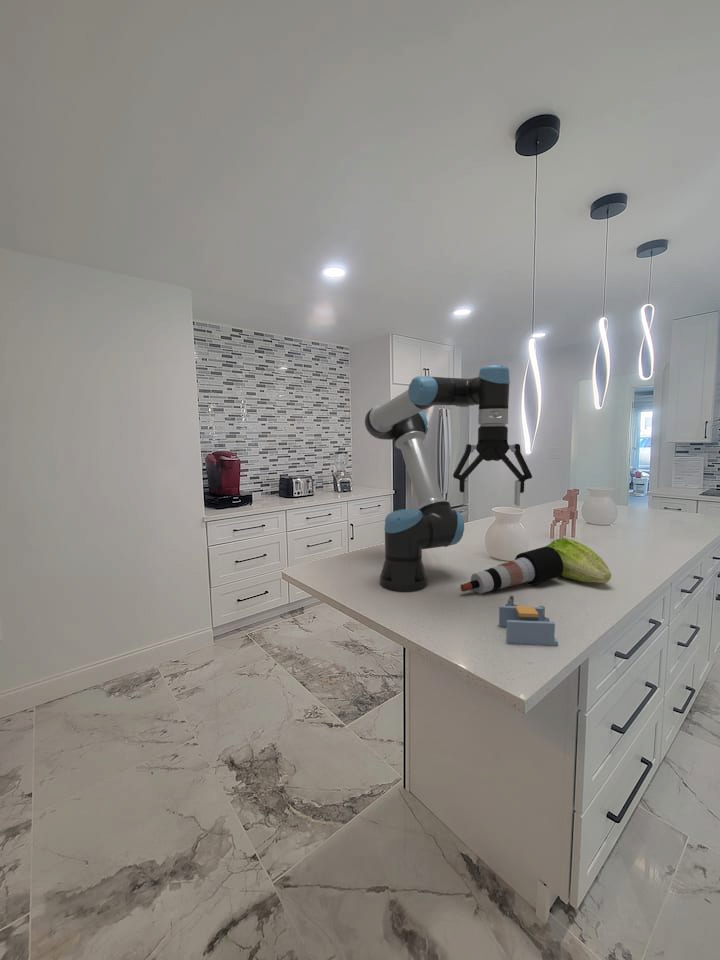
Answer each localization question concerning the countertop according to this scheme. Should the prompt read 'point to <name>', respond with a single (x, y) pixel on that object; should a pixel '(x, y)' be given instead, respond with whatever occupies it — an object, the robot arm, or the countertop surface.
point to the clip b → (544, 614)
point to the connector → (526, 613)
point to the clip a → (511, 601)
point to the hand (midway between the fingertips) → (490, 504)
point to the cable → (518, 571)
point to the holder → (526, 628)
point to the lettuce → (580, 561)
